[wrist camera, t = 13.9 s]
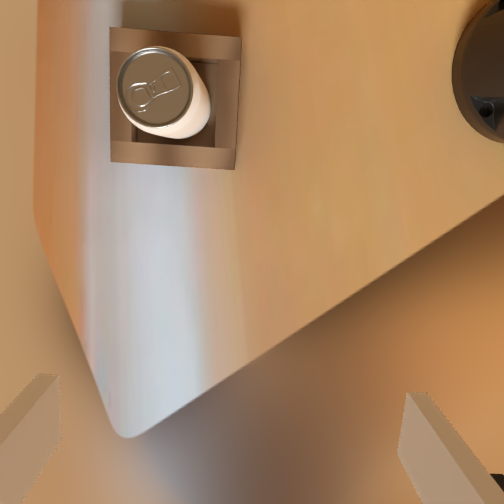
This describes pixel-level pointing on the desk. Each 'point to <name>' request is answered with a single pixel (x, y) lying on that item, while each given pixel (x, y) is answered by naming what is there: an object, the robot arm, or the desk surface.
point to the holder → (219, 89)
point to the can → (162, 93)
